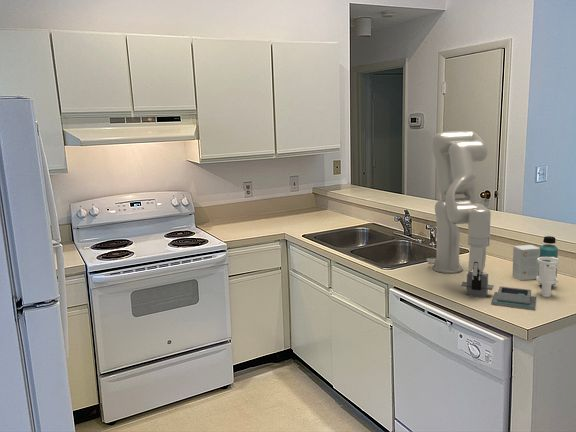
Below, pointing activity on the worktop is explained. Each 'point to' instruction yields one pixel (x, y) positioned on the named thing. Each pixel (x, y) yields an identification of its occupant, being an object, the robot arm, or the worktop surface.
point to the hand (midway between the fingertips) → (477, 287)
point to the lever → (484, 285)
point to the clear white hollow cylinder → (547, 274)
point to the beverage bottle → (549, 251)
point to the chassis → (514, 298)
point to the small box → (525, 262)
